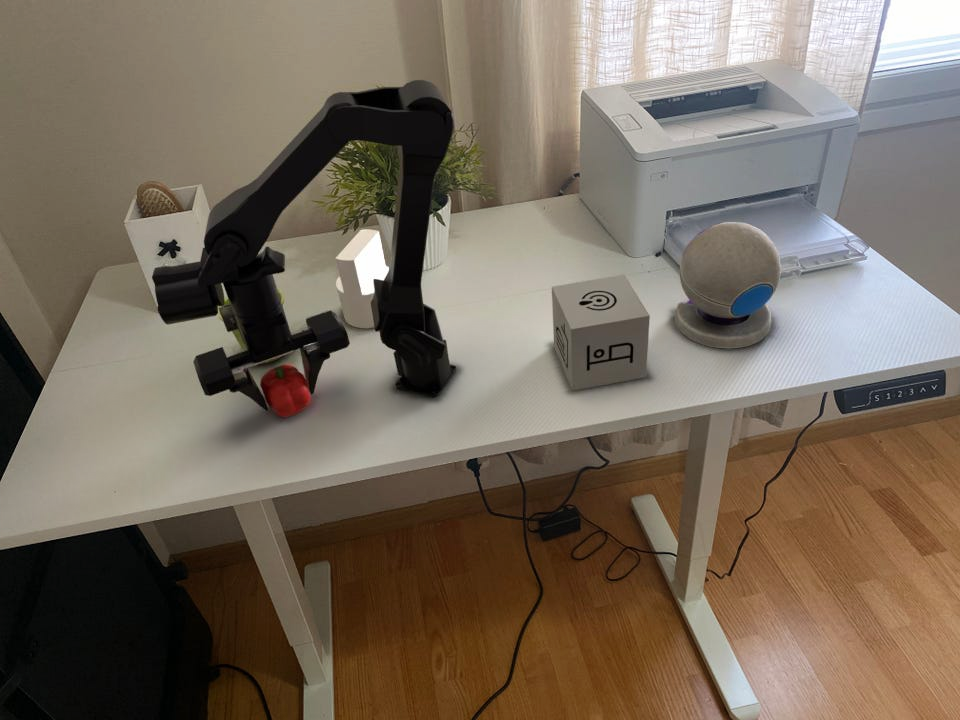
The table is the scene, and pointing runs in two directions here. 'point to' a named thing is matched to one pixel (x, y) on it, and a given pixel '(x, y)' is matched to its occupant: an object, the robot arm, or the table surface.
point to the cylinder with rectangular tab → (360, 277)
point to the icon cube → (600, 331)
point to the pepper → (285, 390)
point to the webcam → (728, 285)
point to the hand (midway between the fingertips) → (289, 400)
